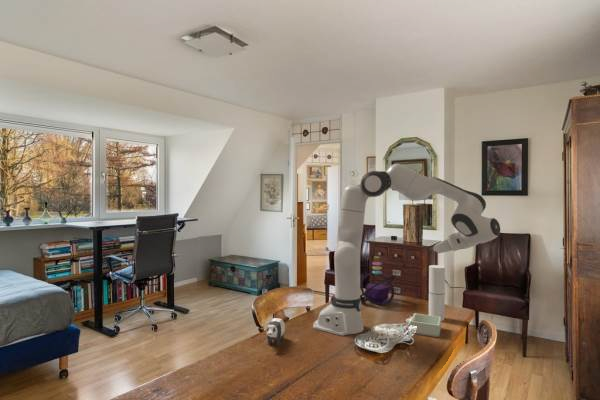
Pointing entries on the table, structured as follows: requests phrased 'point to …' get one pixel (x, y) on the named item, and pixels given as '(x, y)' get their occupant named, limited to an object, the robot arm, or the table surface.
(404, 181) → the robot arm
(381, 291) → the decorative bottle
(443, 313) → the cylindrical container
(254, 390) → the table surface
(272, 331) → the giant panda
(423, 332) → the box
